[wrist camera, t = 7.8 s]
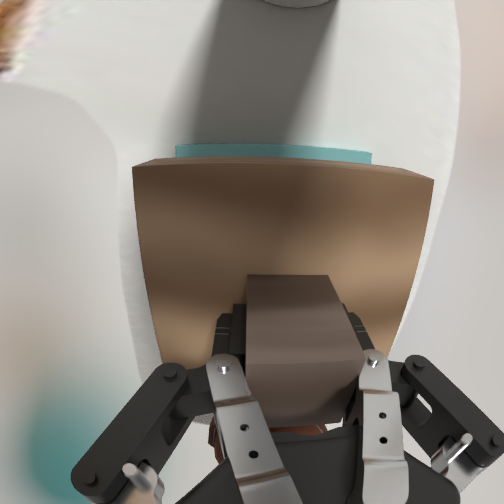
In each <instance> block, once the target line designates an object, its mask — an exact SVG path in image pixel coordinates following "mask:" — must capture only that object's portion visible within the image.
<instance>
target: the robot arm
mask: <svg viewBox="0 0 504 504" xmlns="http://www.w3.org/2000/svg"><path fill="white" fill-rule="evenodd" d="M263 1H266V2H268V3H272V4H275V5H279V6H285V7H296V8H304V7H312V6H317V5H320V4H324V3H326V2H328V1H330V0H263ZM342 306H343V308H344V310H345V312H346V314H347V316H348V319H349V321H350V323H351V325H352V327H353V330H354V332H355V334H356V336H357V339H358V341H359V343H360V345H361V348H362V350H363V352H364V355H365V357H366V361H365V363H364V366H363V369H362V371H361V374H359V375H358V378H357V380H356V387H355V389H354V392H353V394H352V397H351V399H350V401H349V404H348V406H346V407H345V410H344V412H343V426H342V427H338V428H335V429H332V430H329V431H326V432H323V433H320V434H317V435H313V436H311V435H303V434H296V433H289V432H270V431H269V429H268V426H267V424H266V421H265V419H264V416H263V414H262V411H261V408H260V406H259V403H258V401H257V399H256V397H252V395H251V392H250V389H249V387H248V384H247V381H246V320H247V304H245V303H233V313H222V314H221V315H220V317H219V318H218V319H217V323H216V329H215V336H214V342H213V349H212V355H211V358H209V359H208V361H207V363H206V364H205V365H203V366H201V367H198V368H194V369H188V370H186V369H185V367H183V366H182V365H180V364H178V363H173V362H170V363H164V364H162V365H160V366H158V367H157V368H156V369H155V370H154V372H153V373H152V374H151V375H150V376H149V378H148V379H147V380H146V381H145V382H144V384H143V385H142V386H141V387H140V388H139V390H138V391H137V392H136V393H135V394H134V396H133V397H132V398H131V399H130V400H129V402H128V403H127V404H126V405H125V406H124V408H123V409H122V410H121V411H120V412H119V414H118V415H117V416H116V417H115V418H114V420H113V421H112V422H111V424H110V425H109V426H108V427H107V428H106V429H105V430H104V432H103V433H102V434H101V435H100V436H99V438H98V439H97V440H96V441H95V442H94V444H93V445H92V446H91V447H90V448H89V450H88V451H87V452H86V453H85V454H84V456H83V457H82V458H81V459H80V461H79V462H78V463H77V464H76V465H75V467H74V468H73V469H72V472H71V482H72V484H73V486H74V488H75V489H76V490H77V491H78V492H80V493H81V494H83V495H84V496H85V497H86V498H87V499H88V500H89V501H91V502H92V503H94V504H162V502H161V501H162V496H163V494H164V484H163V482H162V481H161V479H160V478H159V476H158V474H159V472H160V471H161V469H162V468H163V466H164V465H165V463H166V461H167V460H168V459H169V457H170V456H171V454H172V452H173V451H174V449H175V448H176V446H177V445H178V443H179V441H180V440H181V438H182V436H183V435H184V433H185V432H186V430H187V428H188V427H189V425H190V424H191V422H192V420H193V419H194V417H195V416H198V415H203V414H208V413H213V415H214V419H215V423H216V427H217V431H218V435H219V439H220V444H221V448H222V453H223V457H224V460H223V461H222V462H221V463H220V464H219V465H218V466H217V467H216V468H215V469H214V470H213V471H212V472H210V473H209V474H208V475H207V476H206V477H205V478H204V479H203V480H202V481H201V482H200V483H198V484H197V485H196V486H195V487H194V488H193V489H192V490H191V491H190V492H188V493H187V494H186V495H185V496H184V497H182V498H181V499H180V500H179V501H178V502H176V503H175V504H460V492H462V491H463V489H465V488H466V487H467V486H468V484H470V483H471V482H472V481H473V479H474V478H475V477H476V476H477V475H479V474H480V473H481V472H482V471H484V470H485V469H486V468H487V467H489V466H490V465H491V464H492V463H493V462H494V461H495V460H497V459H498V458H499V457H500V456H501V455H502V454H503V453H504V433H503V432H502V431H501V430H500V429H499V428H498V427H497V426H496V425H495V424H494V423H493V422H492V421H491V420H490V419H489V418H488V417H487V416H486V415H485V414H484V413H483V412H482V411H481V410H480V409H479V408H478V407H477V406H476V405H475V404H474V403H473V402H472V401H471V400H470V399H469V398H468V397H467V396H466V395H465V394H464V393H463V392H462V391H461V390H460V389H459V388H457V387H456V386H455V385H454V384H453V383H452V382H451V381H450V380H449V379H448V378H447V377H446V376H445V375H444V374H443V373H442V372H441V371H439V370H438V369H437V368H436V367H435V366H434V365H433V364H432V363H431V362H430V361H429V360H428V359H426V358H425V357H423V356H420V355H411V356H409V357H407V359H406V360H405V362H404V363H402V362H394V361H389V360H388V359H387V356H386V355H385V354H384V353H382V352H381V351H379V350H375V347H374V345H373V343H372V341H371V339H370V337H369V335H368V333H367V332H366V329H365V327H364V326H363V323H362V321H361V319H360V318H359V317H358V316H357V315H356V314H355V313H354V312H348V311H347V308H346V306H345V304H344V303H342ZM418 394H420V395H421V396H422V397H423V398H424V399H425V401H427V403H428V404H429V405H430V406H431V408H432V413H431V412H430V411H429V410H428V409H427V408H426V407H425V406H424V405H423V404H422V402H421V401H420V400H419V399H418V398H417V395H418ZM402 425H403V426H404V427H405V429H406V430H407V431H408V432H409V433H410V435H411V436H412V437H413V438H414V439H415V441H416V442H417V443H418V444H419V445H420V447H421V448H422V449H423V450H424V451H425V452H426V454H427V455H428V456H429V457H430V458H431V467H428V466H427V465H425V464H424V463H422V462H421V461H419V460H418V459H416V458H415V457H413V456H412V455H410V454H408V453H407V452H406V451H404V449H403V434H402Z"/></svg>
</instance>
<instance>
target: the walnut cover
mask: <svg viewBox="0 0 504 504" xmlns="http://www.w3.org/2000/svg"><path fill="white" fill-rule="evenodd" d="M132 175H133V189H134V201H135V211H136V220H137V229H138V237H139V245H140V252H141V259H142V265H143V272H144V278H145V283H146V289H147V295H148V300H149V305H150V310H151V315H152V320H153V325H154V329H155V334H156V338H157V342H158V347H159V351H160V355H161V359H162V363H163V364H164V363H170V362H173V363H178V364H180V365H182V366H183V367H185V369H186V370H188V369H194V368H198V367H201V366H203V365H205V364H206V363H207V361H208V359H209V358H211V355H212V349H213V342H214V336H215V329H216V323H217V319H218V318H219V317H220V315H221V314H222V313H233V303H245V304H247V320H246V381H247V384H248V387H249V389H250V392H251V395H252V397H256V399H257V401H258V403H259V406H260V408H261V411H262V414H263V416H264V419H265V421H266V424H267V426H268V428H270V427H295V426H310V425H321V424H331V423H339V422H341V420H342V417H343V412H344V410H345V407H346V406H348V404H349V401H350V399H351V397H352V394H353V392H354V389H355V387H356V380H357V378H358V375H359V374H361V371H362V369H363V366H364V363H365V361H366V357H365V355H364V352H363V350H362V348H361V345H360V343H359V341H358V339H357V336H356V334H355V332H354V330H353V327H352V325H351V323H350V321H349V319H348V316H347V314H346V312H345V310H344V308H343V306H342V303H344V304H345V306H346V308H347V311H348V312H354V313H355V314H356V315H357V316H358V317H359V318H360V319H361V321H362V323H363V326H364V327H365V329H366V332H367V333H368V335H369V337H370V339H371V341H372V343H373V345H374V347H375V350H379V351H381V352H382V353H384V354H385V355H386V356H387V357H388V354H389V352H390V349H391V347H392V344H393V342H394V339H395V336H396V334H397V331H398V328H399V325H400V322H401V319H402V316H403V313H404V310H405V307H406V304H407V301H408V298H409V295H410V291H411V288H412V284H413V281H414V277H415V274H416V270H417V266H418V262H419V258H420V254H421V250H422V245H423V241H424V236H425V231H426V227H427V221H428V216H429V210H430V205H431V198H432V192H433V185H434V179H431V178H429V177H426V176H423V175H420V174H417V173H414V172H411V171H409V170H406V169H402V168H395V167H388V166H380V165H372V164H363V163H354V162H344V161H332V160H320V159H305V158H285V157H251V156H214V157H181V158H162V159H154V160H151V161H148V162H145V163H142V164H139V165H136V166H133V167H132Z"/></svg>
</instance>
